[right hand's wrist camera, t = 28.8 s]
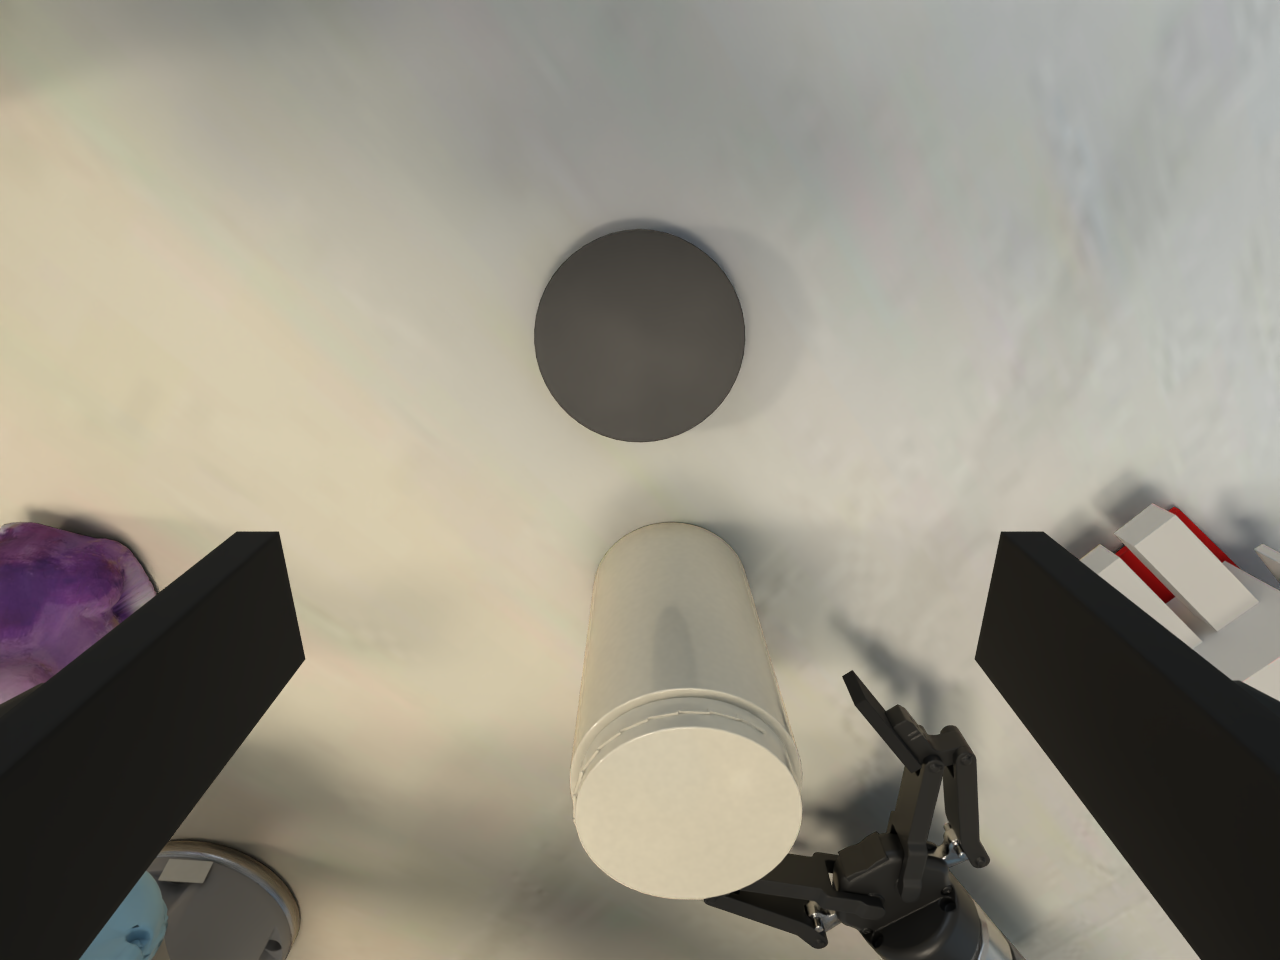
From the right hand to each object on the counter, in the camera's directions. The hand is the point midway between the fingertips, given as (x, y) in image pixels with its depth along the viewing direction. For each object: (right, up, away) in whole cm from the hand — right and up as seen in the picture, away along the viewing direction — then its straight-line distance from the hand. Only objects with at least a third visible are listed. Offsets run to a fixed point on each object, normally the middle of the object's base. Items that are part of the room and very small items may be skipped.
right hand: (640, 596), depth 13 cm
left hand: (+7, -14, +30) cm, 34 cm away
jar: (+2, -5, +34) cm, 34 cm away
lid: (0, +10, +26) cm, 28 cm away
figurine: (-36, -5, +34) cm, 49 cm away
